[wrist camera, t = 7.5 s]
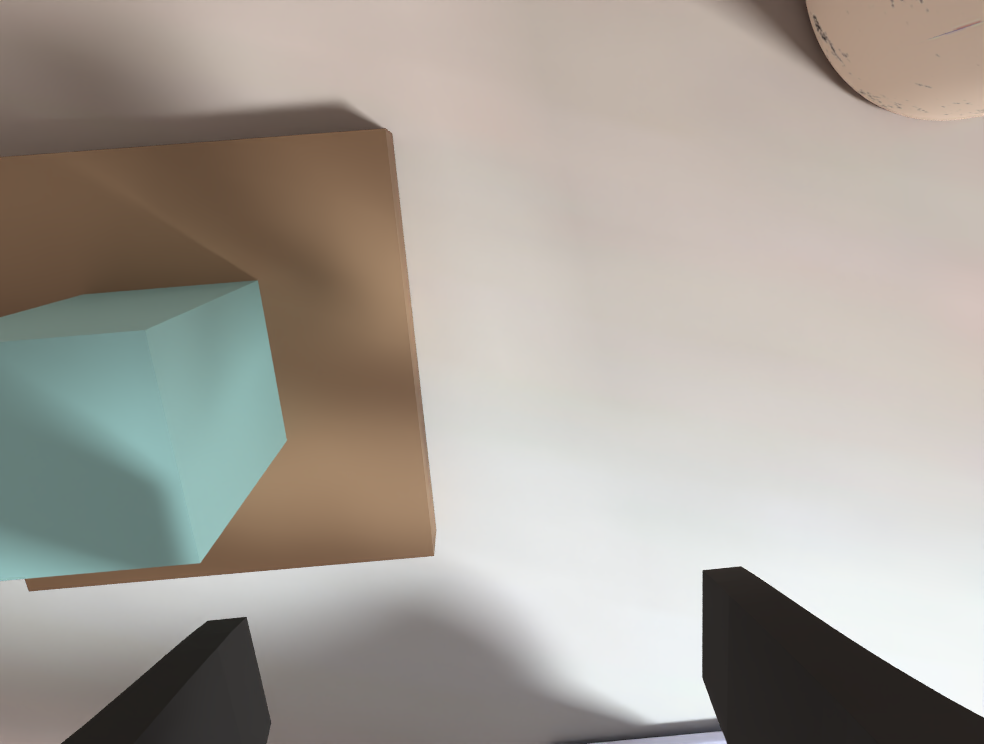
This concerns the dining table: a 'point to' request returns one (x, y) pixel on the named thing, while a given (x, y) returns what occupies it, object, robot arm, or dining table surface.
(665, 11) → the dining table surface
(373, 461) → the walnut slab
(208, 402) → the teal block
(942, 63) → the teacup with lid
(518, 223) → the dining table surface
